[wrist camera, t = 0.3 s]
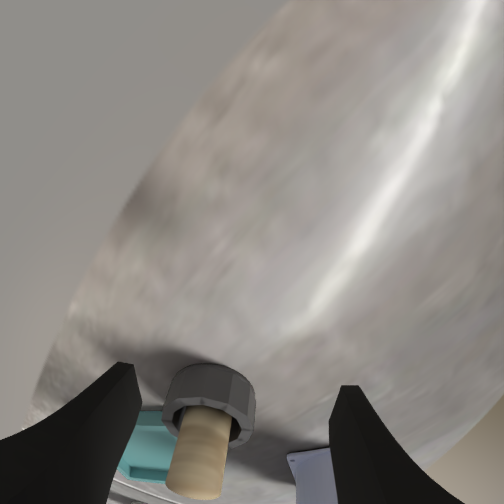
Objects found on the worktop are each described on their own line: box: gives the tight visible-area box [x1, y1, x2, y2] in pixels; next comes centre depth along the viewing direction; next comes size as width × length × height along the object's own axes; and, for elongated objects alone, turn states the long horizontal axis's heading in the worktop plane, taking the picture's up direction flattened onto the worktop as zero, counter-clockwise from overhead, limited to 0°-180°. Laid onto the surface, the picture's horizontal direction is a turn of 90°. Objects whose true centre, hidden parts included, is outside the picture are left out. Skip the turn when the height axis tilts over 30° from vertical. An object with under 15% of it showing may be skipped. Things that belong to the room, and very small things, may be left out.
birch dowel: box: [165, 405, 232, 500], centre depth 20 cm, size 4×4×8 cm
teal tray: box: [117, 411, 177, 484], centre depth 28 cm, size 12×12×2 cm
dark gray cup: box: [161, 364, 256, 449], centre depth 22 cm, size 7×7×4 cm
